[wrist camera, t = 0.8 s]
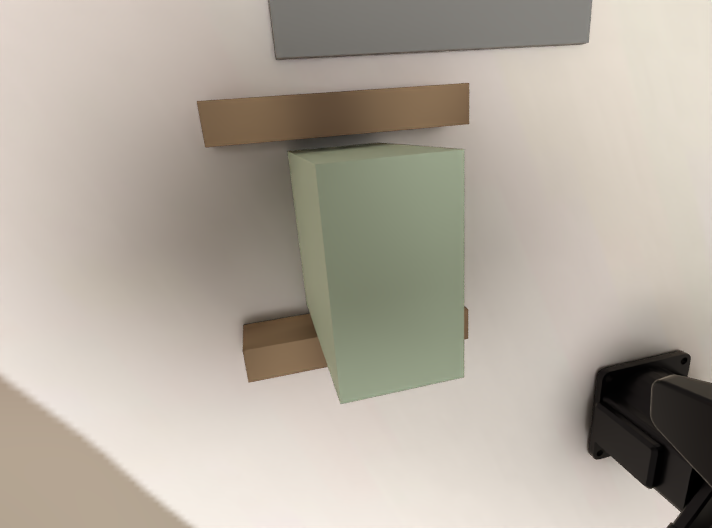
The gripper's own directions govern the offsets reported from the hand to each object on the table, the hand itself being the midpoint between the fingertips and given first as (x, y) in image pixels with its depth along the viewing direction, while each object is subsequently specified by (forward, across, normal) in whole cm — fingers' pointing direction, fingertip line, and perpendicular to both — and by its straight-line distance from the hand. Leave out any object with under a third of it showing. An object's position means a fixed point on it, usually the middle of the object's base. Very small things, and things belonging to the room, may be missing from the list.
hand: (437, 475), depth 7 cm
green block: (+13, -1, -2) cm, 13 cm away
